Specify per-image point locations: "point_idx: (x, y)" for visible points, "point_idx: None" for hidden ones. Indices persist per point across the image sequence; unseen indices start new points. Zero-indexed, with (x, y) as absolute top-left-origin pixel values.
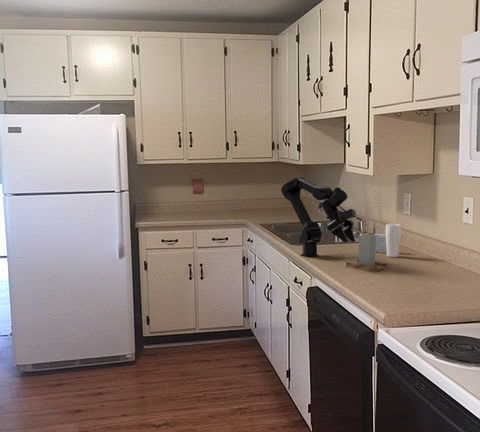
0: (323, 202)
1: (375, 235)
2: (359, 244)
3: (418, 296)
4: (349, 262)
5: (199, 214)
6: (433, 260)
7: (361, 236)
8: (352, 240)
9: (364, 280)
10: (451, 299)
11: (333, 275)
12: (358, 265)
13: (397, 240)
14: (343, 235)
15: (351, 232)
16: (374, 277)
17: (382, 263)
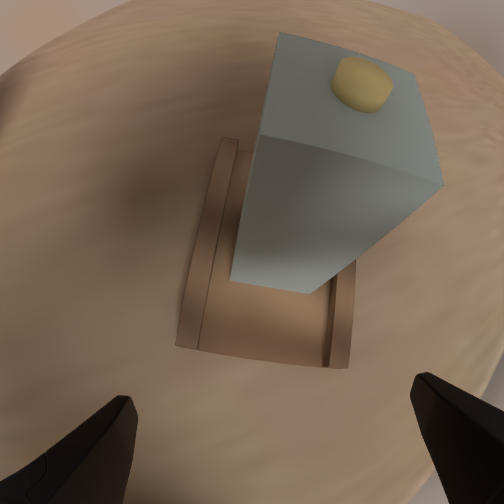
0: None
1: (285, 34)
2: (380, 231)
3: (463, 70)
4: (341, 347)
5: None
6: (6, 86)
7: (431, 157)
8: (132, 432)
9: (475, 187)
10: (428, 32)
11: (499, 318)
12: (352, 273)
13: None
14: (494, 420)
15: (65, 491)
16: None
17: (234, 159)
